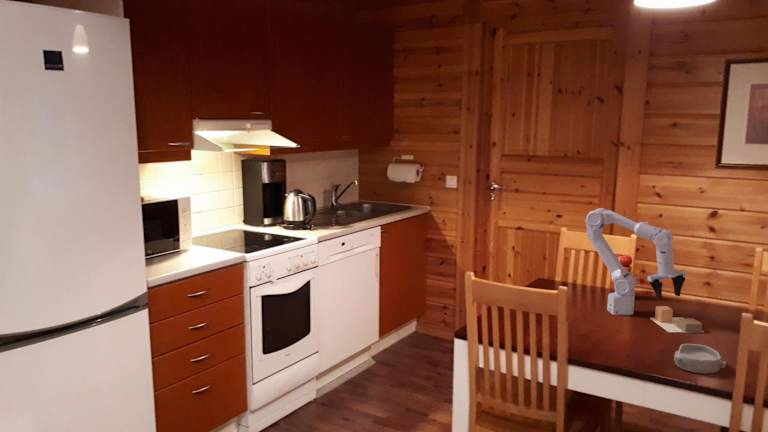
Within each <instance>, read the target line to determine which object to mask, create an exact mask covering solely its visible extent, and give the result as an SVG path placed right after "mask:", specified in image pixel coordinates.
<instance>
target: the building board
mask: <svg viewBox="0 0 768 432" xmlns="http://www.w3.org/2000/svg"><path fill="white" fill-rule="evenodd" d="M649 319H650V320H652V321H653V322H655V324H657V325H658V326H659V327H661V328H662V329H664V330H665V331H666V332H667V333H685V334H688V333H705V331H704V330H702V329H703V323H702V322H700V321H698V319H697V320H696V319H695V318H693V317H677V316H676V317H672V322H665V323H660V322H659V321H658V320H656V319H655V317H649Z"/></svg>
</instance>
